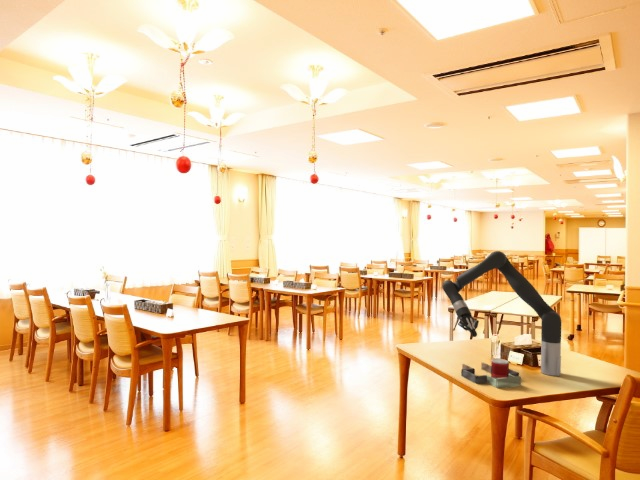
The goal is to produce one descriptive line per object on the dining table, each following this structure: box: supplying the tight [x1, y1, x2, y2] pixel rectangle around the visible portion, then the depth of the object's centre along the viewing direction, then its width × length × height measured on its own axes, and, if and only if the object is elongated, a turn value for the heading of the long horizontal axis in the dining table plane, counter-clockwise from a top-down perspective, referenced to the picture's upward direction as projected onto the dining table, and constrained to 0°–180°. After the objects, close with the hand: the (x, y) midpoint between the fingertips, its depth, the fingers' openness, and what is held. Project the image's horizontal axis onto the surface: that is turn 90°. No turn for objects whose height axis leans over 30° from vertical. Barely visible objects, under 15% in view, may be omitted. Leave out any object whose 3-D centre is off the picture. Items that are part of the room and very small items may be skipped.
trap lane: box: [460, 362, 522, 389], centre depth 218 cm, size 28×25×4 cm
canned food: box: [490, 358, 510, 379], centre depth 211 cm, size 8×8×11 cm
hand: (475, 336), depth 230 cm, fingers closed
